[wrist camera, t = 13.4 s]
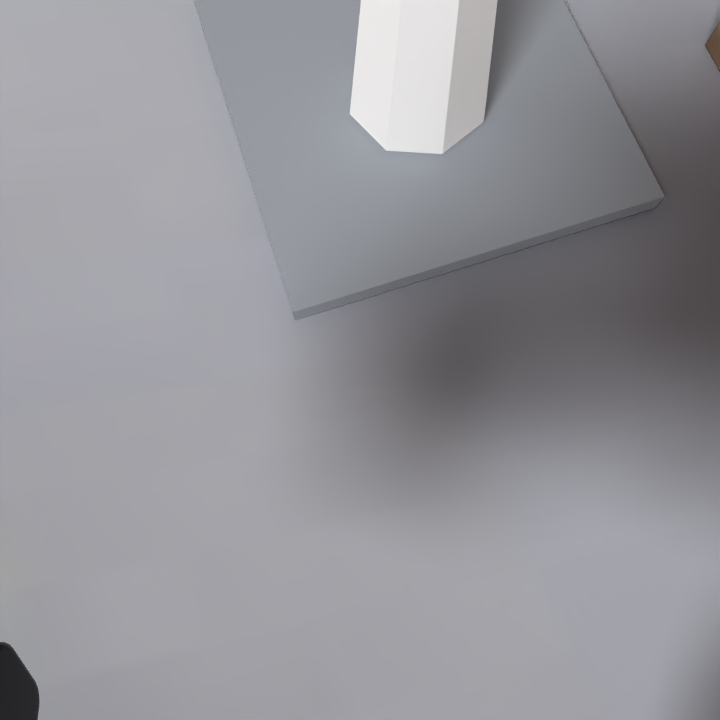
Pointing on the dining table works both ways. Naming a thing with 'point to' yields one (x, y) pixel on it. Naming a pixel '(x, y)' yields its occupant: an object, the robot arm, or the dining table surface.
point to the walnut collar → (715, 46)
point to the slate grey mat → (417, 170)
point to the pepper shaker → (422, 71)
